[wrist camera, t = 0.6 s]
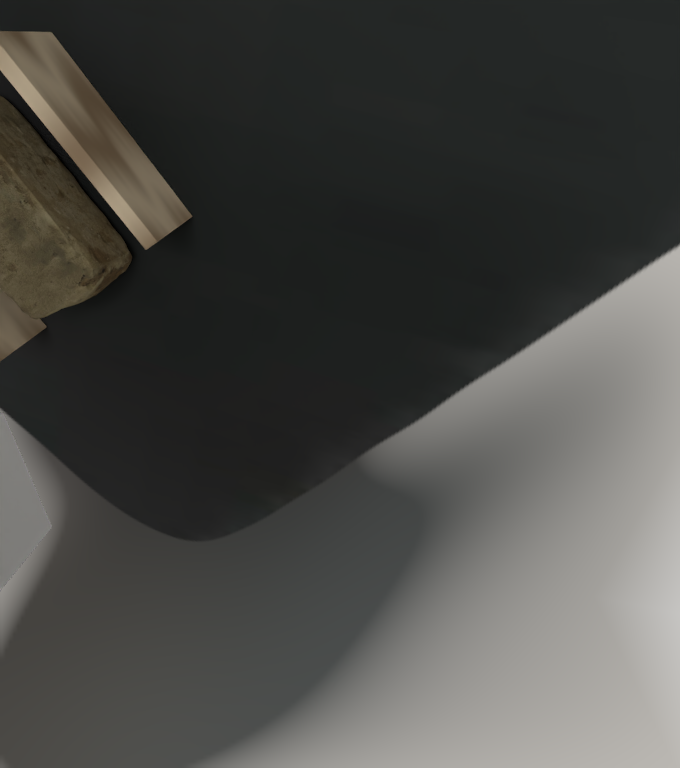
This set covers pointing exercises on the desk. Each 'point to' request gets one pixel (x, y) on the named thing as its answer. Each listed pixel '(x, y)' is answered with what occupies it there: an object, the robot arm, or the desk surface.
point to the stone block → (49, 226)
